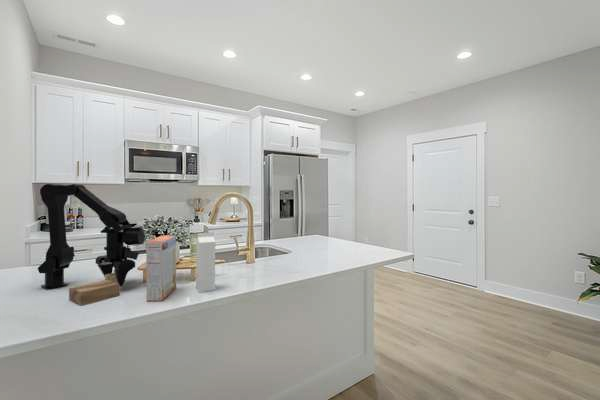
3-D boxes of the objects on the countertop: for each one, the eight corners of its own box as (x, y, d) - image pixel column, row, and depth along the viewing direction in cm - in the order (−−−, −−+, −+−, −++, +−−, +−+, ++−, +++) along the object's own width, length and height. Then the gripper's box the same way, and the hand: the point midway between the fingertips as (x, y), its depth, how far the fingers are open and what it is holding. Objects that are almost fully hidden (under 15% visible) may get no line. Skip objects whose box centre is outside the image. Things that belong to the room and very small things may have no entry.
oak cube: (104, 287, 115) (104, 274, 115) (118, 284, 119) (118, 271, 119) (111, 289, 112) (111, 276, 112) (125, 286, 116) (125, 273, 116)
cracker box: (160, 288, 114) (161, 234, 114) (176, 288, 115) (177, 234, 114) (144, 301, 100) (145, 240, 100) (163, 301, 101) (163, 240, 100)
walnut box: (69, 300, 101) (69, 287, 101) (107, 290, 111) (107, 279, 111) (80, 305, 96) (80, 292, 96) (119, 295, 106) (119, 283, 106)
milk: (214, 290, 113) (215, 233, 113) (198, 292, 110) (199, 234, 110) (211, 285, 118) (212, 231, 118) (195, 288, 116) (196, 232, 115)
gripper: (148, 243, 117) (148, 282, 117) (123, 239, 127) (123, 275, 127) (119, 248, 108) (119, 290, 108) (94, 242, 117) (94, 281, 118)
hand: (115, 283), depth 115 cm, fingers open, 9 cm apart
